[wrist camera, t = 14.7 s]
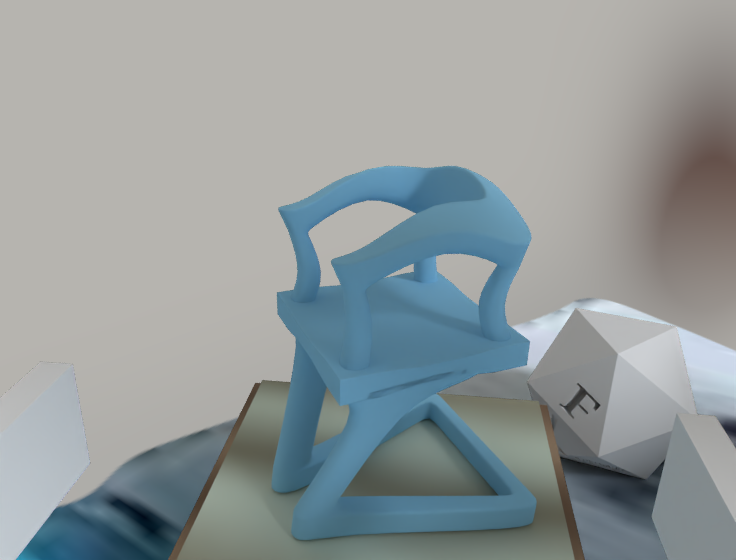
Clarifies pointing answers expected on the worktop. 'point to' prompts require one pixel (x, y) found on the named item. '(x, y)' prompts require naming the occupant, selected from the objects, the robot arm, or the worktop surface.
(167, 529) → the worktop surface
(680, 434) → the robot arm
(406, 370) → the chair
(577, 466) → the worktop surface
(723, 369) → the worktop surface
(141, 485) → the worktop surface
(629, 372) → the die
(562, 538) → the base block
